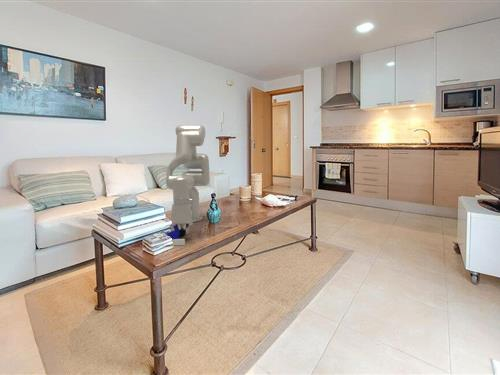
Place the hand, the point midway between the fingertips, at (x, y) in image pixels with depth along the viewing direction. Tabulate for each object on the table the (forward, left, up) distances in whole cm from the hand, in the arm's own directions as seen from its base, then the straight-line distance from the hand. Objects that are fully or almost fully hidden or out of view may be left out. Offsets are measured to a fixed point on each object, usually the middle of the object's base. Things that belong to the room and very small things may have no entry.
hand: (182, 236), depth 137 cm
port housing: (-1, -3, -2) cm, 3 cm away
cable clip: (0, -3, -1) cm, 4 cm away
